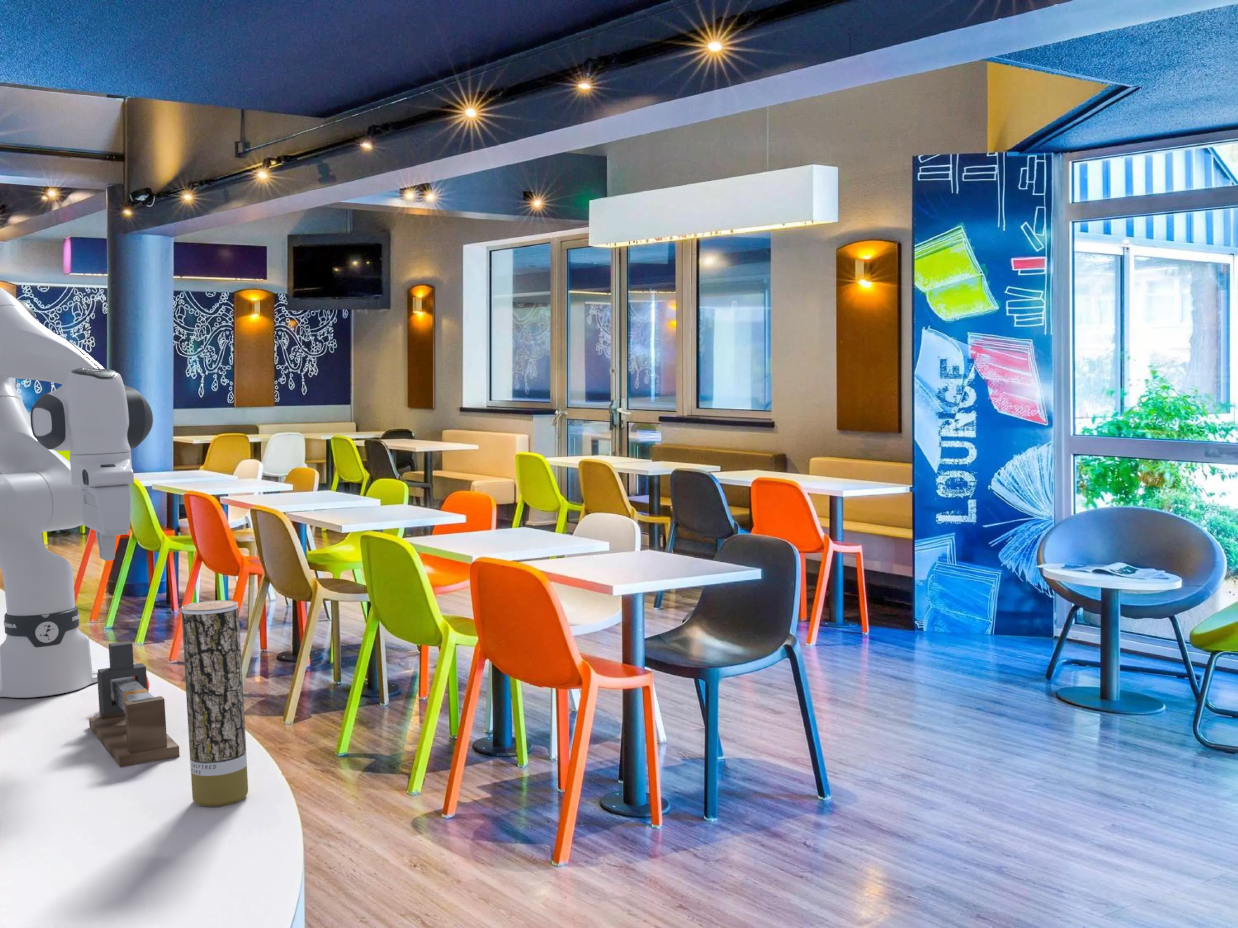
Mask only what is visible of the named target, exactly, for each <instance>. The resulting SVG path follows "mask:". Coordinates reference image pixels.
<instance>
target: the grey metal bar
mask: <svg viewBox="0 0 1238 928" xmlns="http://www.w3.org/2000/svg"><path fill="white" fill-rule="evenodd" d="M110 683H111V698H112V699H113V700H114V701H115V702H116V703H117V704H118V706H119V707H120V708H121V709H122V710H123V711H124V712H125V704H124V702H127V701H133V702H134V701H135V702H137V701H139V700H140V701H144V700H145V699H146V698H149V699H150V698H151V699H155V698H154V697H155V696H153V695H152V693H150V692H149V691H148V690H147V689H145V688H144V687H143V686H142V685H140V684H139V683H138V682H137V681H136V680H135V679H134V678H133V677H125V678H119V679H112V680H110ZM152 697H153V698H152ZM149 699H146V700H149ZM136 700H137V701H136Z"/></svg>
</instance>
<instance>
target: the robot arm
mask: <svg viewBox="0 0 1238 928" xmlns="http://www.w3.org/2000/svg"><path fill="white" fill-rule="evenodd" d="M11 379H19V380H20V379H21V380H32V381H41V382H43V381H44V382H49V383H53V384H54V383H56V384H59V385H60V386H59V387H57V388H56V389H54V390H53V391H51V392H46V393H45V392H44V394H42V395H41V396H40V397H38V398H37V400H36V401H35V403H34V404H33V405H32V408H31V410H30V414H29V412H28V410H27V408H26V406H25V404H24V401H23V400H22V398H21V395H20V394H19V392H18V391H17V389H16V387H15V386H14V384H13V382H12V380H11ZM153 423H154V416H153V410H152V407H151V406H150V404H149V402H148V401H147V399H146V398H145V397H144V395H142V394H141V393H140V392H139V391H138V390H136V389H135V388H133V387H131V386H127V385H125V384H124V381H123V378H122V376H121V374H120V373H118V372H117V371H115V370H113V369H108V368H105V367H103V366H102V365H101V364H100V363H99V362H98V361H97V360H95V359H94V357H92V356H91V355H90V354H89V353H87V352H86V351H85V350H83V349H82V348H81V347H80V346H78V345H76V344H74V343H73V342H72V341H70V340H68V339H66V338H63V337H62V336H60V335H58V334H56V333H55V332H53V331H52V330H51V329H49V328H47V326H45V325H44V324H42V323H41V322H40V321H39V320H38V319H37V317H36V314H35V312H34V310H33V308H32V307H31V306H30V305H29V304H28V303H27V302H26V301H25V300H21V299H19V298H18V299H17V298H16V297H15V296H13V294H11V293H9V292H8V291H7V290H5V289H4V288H2V287H1V286H0V570H1V575H2V581H3V588H4V596H5V608H6V612H5V614H4V617H3V618H4V619H3V626H4V634H5V635H6V637H5V639H4V641H3V642H2V643H1V644H0V698H3V697H4V698H17V699H18V698H19V699H20V698H22V699H23V698H37V697H48V696H54V695H60V694H64V693H70V692H73V691H76V690H77V691H78V690H81V689H83V688H85V687H87V686H89V685H91V684H96V683H98V680H97V673H98V671H95V670H93V664H92V655H91V647H90V646H91V645H90V637H89V636H87V635H86V634H85V633H83V632H82V631H81V630H80V629H79V626H80V613H79V607H78V606H77V605H76V600H75V599H76V598H75V597H76V596H75V582H74V581H75V580H74V570H73V567H72V565H71V563H70V561H68V559H66V558H65V557H64V556H61V555H59V554H57V553H55V552H52V551H49V549H48V548H47V546H46V544H45V543H44V539H43V533H46V532H52V531H53V532H54V531H60V530H68V529H69V530H70V529H74V528H77V527H81V526H85V527H87V528H89V529H91V530H93V531H94V532H95V537H96V541H97V546H98V551H99V552H98V554H99V558H100V559H101V560H103V561H105V562H107V561H113V560H115V558H116V552H115V551H116V542H117V536H122V535H123V536H124V535H128V533H129V531H130V526H131V516H132V514H131V512H132V511H131V510H132V509H131V508H132V507H131V506H132V505H131V503H132V501H131V500H132V499H131V498H132V495H131V492H132V490H131V485H133V484H134V482H135V475H134V469H133V462H132V461H133V460H132V451H131V450H134V449H135V448H137V447H138V446H140V444H141V443H143V442H144V441H145V439H147V437H148V436H149V434H150V432H151V430H152V428H153ZM59 451H60V452H63V451H65V452H66V451H67V452H68V451H70V452H69V460H68V459H66V458H65V456H63V455H61V454H60V453H59Z"/></svg>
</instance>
